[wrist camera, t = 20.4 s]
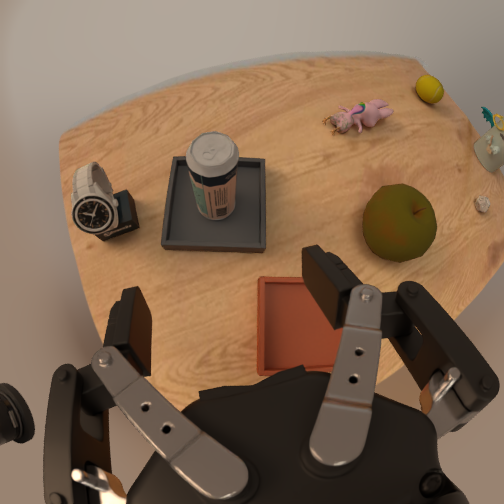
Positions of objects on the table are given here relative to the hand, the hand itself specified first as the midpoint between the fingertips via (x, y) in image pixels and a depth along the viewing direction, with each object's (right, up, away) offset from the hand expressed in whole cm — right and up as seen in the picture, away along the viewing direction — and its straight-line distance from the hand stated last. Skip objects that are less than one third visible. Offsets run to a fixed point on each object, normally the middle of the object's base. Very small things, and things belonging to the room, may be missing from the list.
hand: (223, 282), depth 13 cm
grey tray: (-3, +7, +22) cm, 23 cm away
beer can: (-3, +7, +21) cm, 23 cm away
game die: (+48, +11, +27) cm, 56 cm away
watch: (-16, +6, +20) cm, 27 cm away
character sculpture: (+58, +25, +32) cm, 71 cm away
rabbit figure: (+20, +24, +28) cm, 42 cm away
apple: (+20, +4, +23) cm, 30 cm away
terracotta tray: (+8, -7, +19) cm, 22 cm away
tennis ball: (+42, +38, +34) cm, 66 cm away
